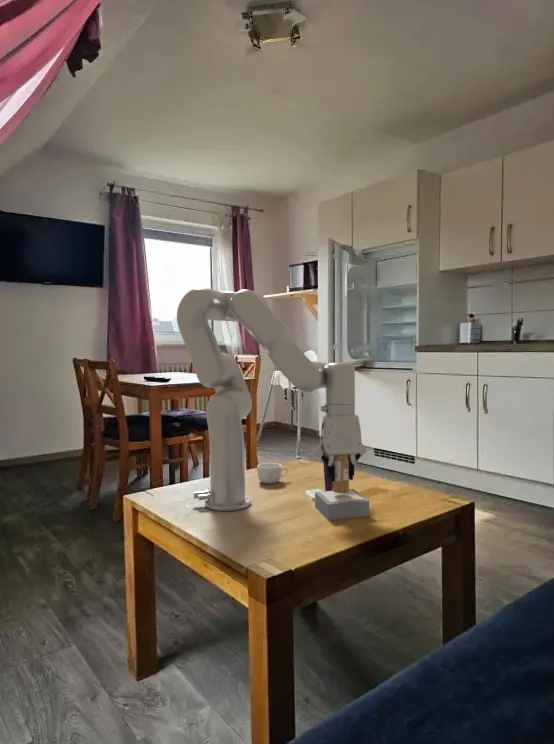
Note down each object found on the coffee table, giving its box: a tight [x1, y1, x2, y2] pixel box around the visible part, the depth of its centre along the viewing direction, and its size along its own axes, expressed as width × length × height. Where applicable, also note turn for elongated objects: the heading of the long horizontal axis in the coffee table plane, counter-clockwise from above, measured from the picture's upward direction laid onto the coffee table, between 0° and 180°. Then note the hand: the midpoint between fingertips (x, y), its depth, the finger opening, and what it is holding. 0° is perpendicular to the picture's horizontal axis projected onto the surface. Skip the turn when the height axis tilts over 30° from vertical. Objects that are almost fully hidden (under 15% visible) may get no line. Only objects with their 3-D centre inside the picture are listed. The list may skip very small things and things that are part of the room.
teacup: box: [256, 462, 289, 485], centre depth 164 cm, size 10×8×5 cm
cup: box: [322, 451, 333, 491], centre depth 149 cm, size 7×7×15 cm
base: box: [314, 488, 370, 521], centre depth 135 cm, size 11×11×4 cm
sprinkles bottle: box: [332, 454, 350, 493], centre depth 134 cm, size 5×5×13 cm
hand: (340, 478), depth 134 cm, fingers closed on sprinkles bottle, 4 cm apart
